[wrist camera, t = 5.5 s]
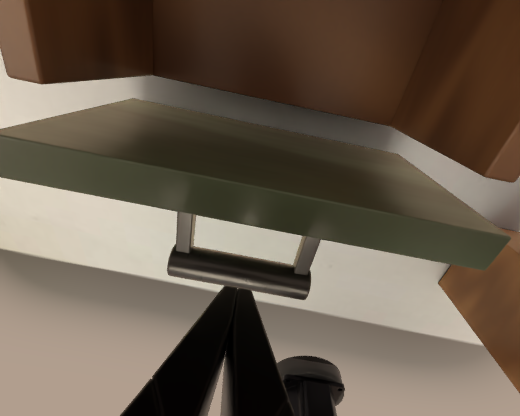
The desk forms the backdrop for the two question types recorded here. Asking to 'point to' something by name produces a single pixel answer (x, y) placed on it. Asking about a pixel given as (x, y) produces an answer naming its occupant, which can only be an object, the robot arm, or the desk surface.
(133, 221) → the desk surface
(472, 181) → the desk surface
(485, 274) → the stand
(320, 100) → the drawer
